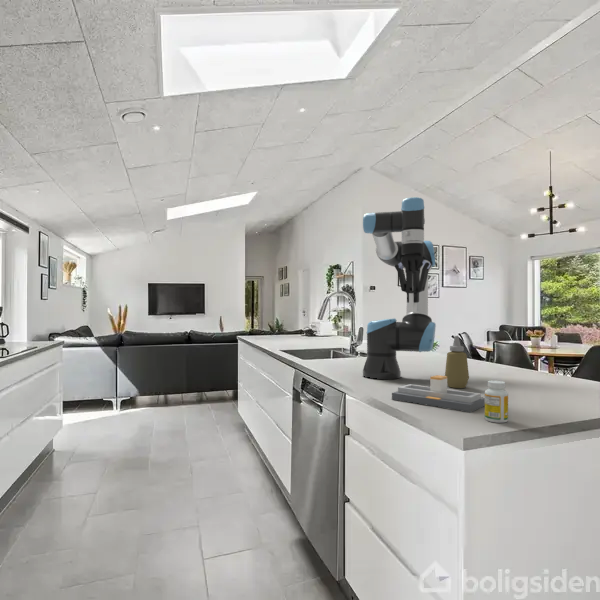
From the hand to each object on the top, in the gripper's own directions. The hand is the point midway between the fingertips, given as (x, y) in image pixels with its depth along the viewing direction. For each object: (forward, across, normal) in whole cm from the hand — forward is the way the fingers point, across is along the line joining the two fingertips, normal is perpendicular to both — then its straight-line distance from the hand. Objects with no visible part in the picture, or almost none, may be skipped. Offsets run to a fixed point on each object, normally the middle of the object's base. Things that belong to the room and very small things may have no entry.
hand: (412, 312), depth 151 cm
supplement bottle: (+27, +35, -23) cm, 50 cm away
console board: (+26, +15, -13) cm, 33 cm away
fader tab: (+24, +15, -13) cm, 31 cm away
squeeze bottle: (+27, +9, +15) cm, 32 cm away
